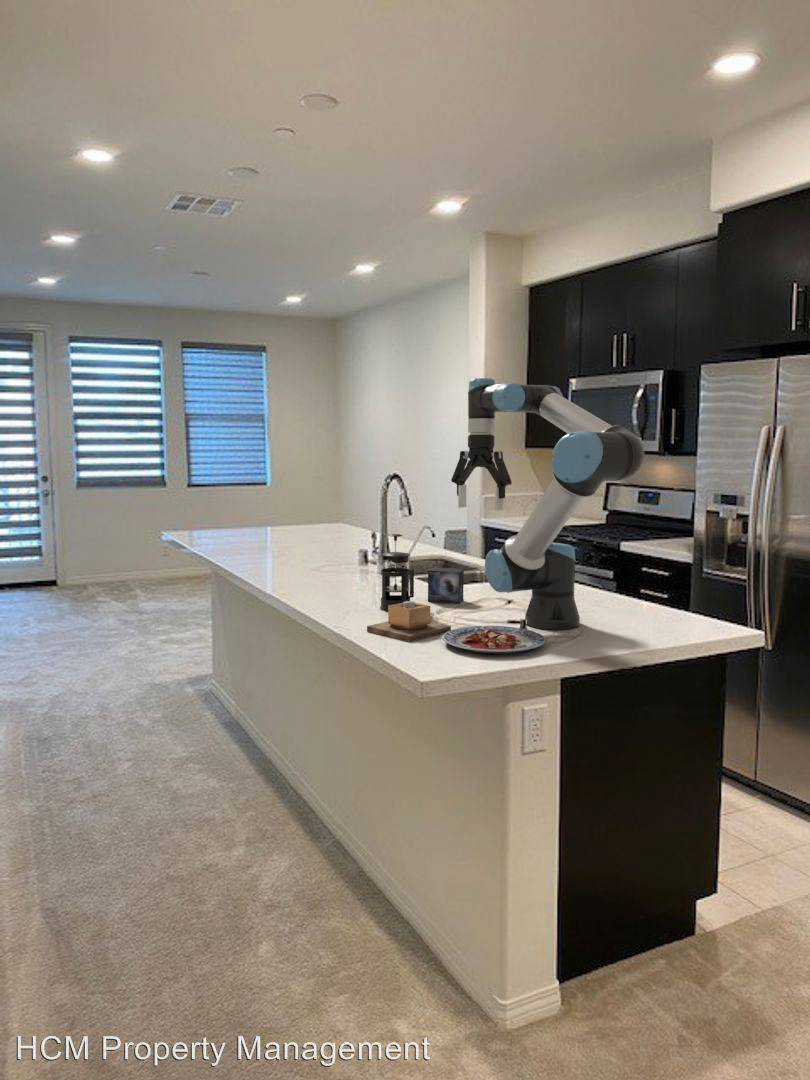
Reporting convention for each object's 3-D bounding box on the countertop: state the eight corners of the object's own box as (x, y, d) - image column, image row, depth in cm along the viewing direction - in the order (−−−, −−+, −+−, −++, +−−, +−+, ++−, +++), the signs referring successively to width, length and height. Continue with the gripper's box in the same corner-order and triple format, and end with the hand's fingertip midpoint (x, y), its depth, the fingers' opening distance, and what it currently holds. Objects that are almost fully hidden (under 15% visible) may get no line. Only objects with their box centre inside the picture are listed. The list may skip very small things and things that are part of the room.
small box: (426, 602, 257) (426, 569, 256) (432, 598, 263) (432, 566, 262) (458, 604, 253) (459, 571, 252) (464, 600, 260) (464, 568, 258)
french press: (389, 613, 240) (389, 536, 237) (372, 608, 247) (372, 533, 244) (421, 608, 247) (421, 534, 244) (403, 603, 254) (403, 531, 251)
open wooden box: (430, 623, 216) (430, 605, 216) (409, 628, 211) (409, 609, 210) (409, 619, 222) (409, 601, 221) (388, 623, 216) (388, 605, 216)
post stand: (450, 631, 217) (451, 602, 216) (409, 641, 206) (409, 611, 205) (408, 622, 228) (408, 594, 227) (367, 631, 217) (366, 602, 216)
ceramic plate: (421, 643, 205) (421, 631, 205) (494, 629, 221) (495, 618, 220) (491, 665, 185) (491, 652, 184) (566, 648, 200) (567, 636, 200)
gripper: (524, 433, 222) (523, 510, 224) (456, 434, 239) (456, 505, 242) (508, 433, 217) (506, 512, 219) (439, 434, 234) (439, 507, 237)
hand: (480, 508), depth 230 cm, fingers open, 13 cm apart
